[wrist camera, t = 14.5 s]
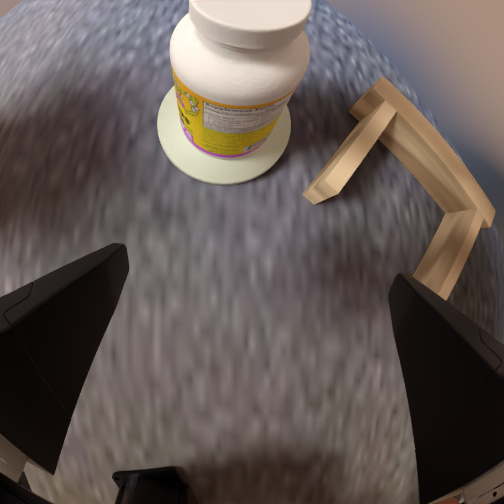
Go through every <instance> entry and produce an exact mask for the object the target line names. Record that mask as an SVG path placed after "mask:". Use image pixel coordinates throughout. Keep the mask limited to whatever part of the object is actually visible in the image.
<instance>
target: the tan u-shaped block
mask: <svg viewBox="0 0 504 504" xmlns="http://www.w3.org/2000/svg"><path fill="white" fill-rule="evenodd" d="M348 112H349V113H350V114H352V115H353V116H354V117H355V118H356V119H357V120H358V121H359V123H358V124H357V125H356V126H355V128H354V129H353V130H352V132H351V133H350V134H349V135H348V137H347V138H346V139H345V140H344V142H343V143H342V144H341V146H340V147H339V148H338V149H337V151H336V152H335V153H334V154H333V156H332V157H331V158H330V160H329V161H328V162H327V163H326V165H325V166H324V167H323V169H322V170H321V171H320V172H319V174H318V175H317V176H316V177H315V179H314V180H313V181H312V183H311V184H310V185H309V186H308V188H307V189H306V190H305V191H304V193H303V194H302V195H303V196H305V197H306V198H307V199H308V200H309V201H310V202H311V203H313V204H317V203H319V202H321V201H323V200H325V199H328V198H330V197H332V196H334V195H336V194H338V193H339V192H340V191H341V189H342V188H343V187H344V185H345V184H346V182H347V181H348V180H349V178H350V177H351V176H352V174H353V173H354V171H355V170H356V169H357V167H358V166H359V164H360V163H361V162H362V160H363V159H364V157H365V156H366V155H367V153H368V152H369V150H370V149H371V147H372V146H373V145H374V143H375V142H376V140H377V139H379V140H380V141H381V142H382V143H383V144H384V145H385V146H386V147H387V148H388V149H389V150H390V151H391V152H392V153H393V154H394V155H395V157H396V158H397V159H398V160H399V161H400V162H401V163H402V164H403V165H404V166H405V167H406V168H407V169H408V170H409V171H410V173H411V174H412V175H413V176H414V177H415V178H416V179H417V180H418V181H419V183H420V184H421V185H422V186H423V187H424V188H425V189H426V191H427V192H428V193H429V194H430V195H431V197H432V198H433V199H434V200H435V201H436V203H437V204H438V205H439V206H440V208H441V209H442V210H443V211H444V213H445V215H444V218H443V220H442V222H441V224H440V226H439V228H438V230H437V232H436V234H435V236H434V237H433V239H432V241H431V243H430V245H429V247H428V249H427V251H426V253H425V254H424V256H423V258H422V260H421V262H420V263H419V265H418V267H417V269H416V270H415V272H414V274H413V275H412V277H414V278H415V279H417V280H418V281H420V282H421V283H422V284H424V285H425V286H427V287H428V288H429V289H431V290H432V291H433V292H435V293H436V294H438V295H439V296H440V297H442V298H443V299H444V300H447V299H448V297H449V295H450V293H451V291H452V289H453V287H454V285H455V283H456V281H457V279H458V277H459V275H460V273H461V271H462V269H463V267H464V264H465V262H466V260H467V258H468V256H469V253H470V251H471V249H472V246H473V244H474V242H475V239H476V237H477V234H478V232H479V229H480V228H490V227H491V224H492V221H493V218H494V215H495V212H496V211H495V209H494V208H493V206H492V205H491V203H490V201H489V200H488V198H487V197H486V195H485V194H484V192H483V191H482V189H481V188H480V186H479V185H478V183H477V182H476V180H475V179H474V178H473V176H472V175H471V173H470V172H469V171H468V169H467V168H466V167H465V165H464V164H463V163H462V161H461V160H460V159H459V157H458V156H457V155H456V154H455V152H454V151H453V150H452V149H451V147H450V146H449V145H448V144H447V142H446V141H445V140H444V139H443V138H442V136H441V135H440V134H439V133H438V132H437V131H436V130H435V128H434V127H433V126H432V125H431V124H430V123H429V122H428V121H427V119H426V118H425V117H424V116H423V115H422V114H421V113H420V112H419V111H418V110H417V109H416V108H415V107H414V106H413V105H412V104H411V103H410V102H409V101H408V100H407V99H406V98H405V97H404V96H403V95H402V94H401V93H400V92H399V91H398V90H397V89H396V88H395V87H394V86H393V85H392V84H391V83H390V82H389V81H388V80H386V79H385V78H384V77H383V76H382V77H381V78H380V79H379V80H378V81H377V82H376V83H375V84H374V85H373V86H372V87H371V88H370V89H369V90H368V91H367V92H366V93H365V94H363V95H362V96H361V97H360V98H359V99H358V100H357V102H356V103H355V104H354V105H353V106H352V108H351V109H350V110H349V111H348Z"/></svg>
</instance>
